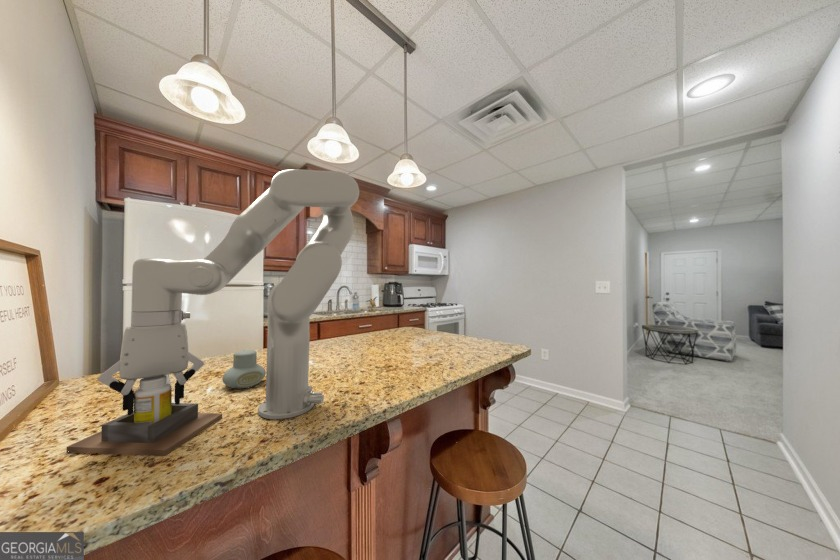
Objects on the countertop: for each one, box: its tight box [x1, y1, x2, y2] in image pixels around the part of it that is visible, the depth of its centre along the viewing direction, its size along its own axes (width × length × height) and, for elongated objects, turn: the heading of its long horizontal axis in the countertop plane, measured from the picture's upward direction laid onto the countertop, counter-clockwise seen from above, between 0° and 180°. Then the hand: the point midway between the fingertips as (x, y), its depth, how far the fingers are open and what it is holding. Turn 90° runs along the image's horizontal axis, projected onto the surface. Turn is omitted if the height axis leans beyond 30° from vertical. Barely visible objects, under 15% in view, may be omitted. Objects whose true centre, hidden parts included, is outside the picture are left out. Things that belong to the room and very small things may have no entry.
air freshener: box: [222, 349, 266, 390], centre depth 84 cm, size 11×8×10 cm
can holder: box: [66, 402, 223, 457], centre depth 57 cm, size 18×14×4 cm
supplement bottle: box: [133, 375, 173, 423], centre depth 57 cm, size 6×6×10 cm
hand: (154, 406), depth 57 cm, fingers open, 6 cm apart
